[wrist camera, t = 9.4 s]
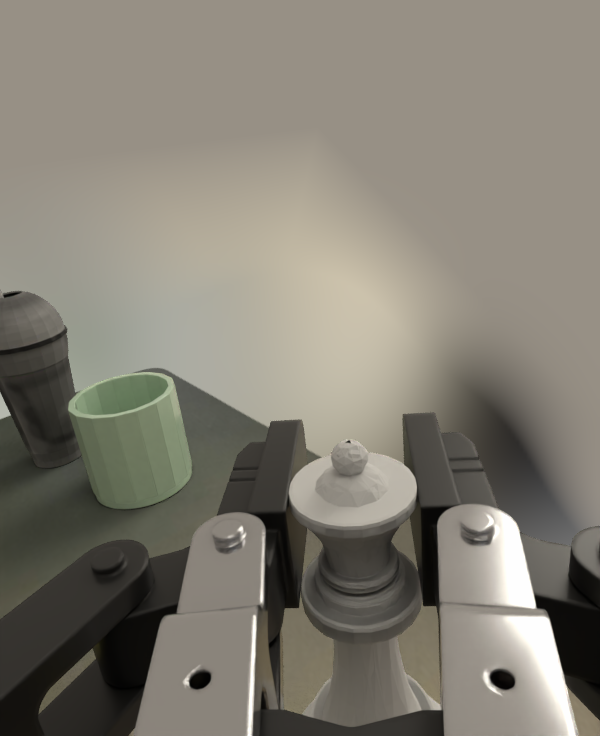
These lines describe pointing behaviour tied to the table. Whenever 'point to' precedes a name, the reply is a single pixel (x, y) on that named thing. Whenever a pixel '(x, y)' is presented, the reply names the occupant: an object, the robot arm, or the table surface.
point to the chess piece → (360, 582)
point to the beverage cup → (37, 377)
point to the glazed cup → (132, 439)
